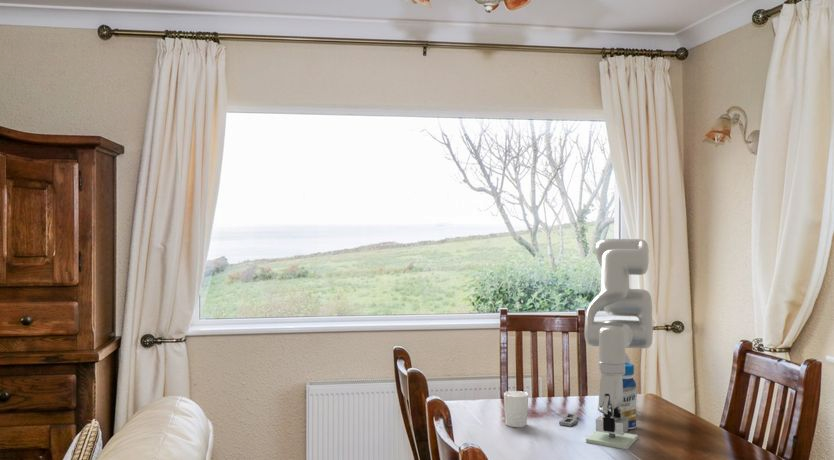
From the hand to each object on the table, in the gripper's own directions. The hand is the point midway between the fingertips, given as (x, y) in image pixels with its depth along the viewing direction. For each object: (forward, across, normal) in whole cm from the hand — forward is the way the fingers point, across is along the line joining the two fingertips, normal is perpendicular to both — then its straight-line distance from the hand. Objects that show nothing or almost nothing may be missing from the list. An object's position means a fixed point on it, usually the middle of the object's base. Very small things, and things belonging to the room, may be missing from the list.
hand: (612, 427), depth 198 cm
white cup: (+4, 0, -31) cm, 31 cm away
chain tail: (+4, -13, -18) cm, 22 cm away
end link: (+1, 0, 0) cm, 1 cm away
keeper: (+4, 0, 0) cm, 4 cm away
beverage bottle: (+4, -16, -1) cm, 16 cm away
